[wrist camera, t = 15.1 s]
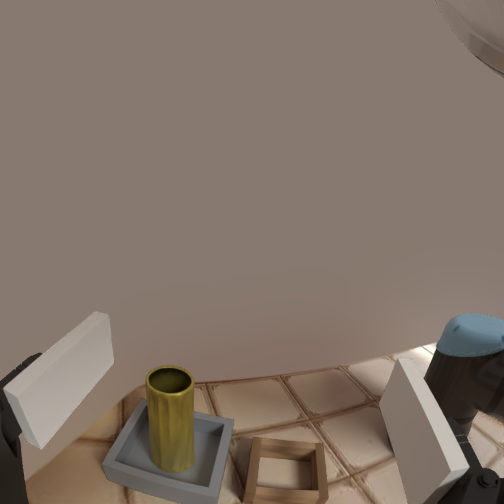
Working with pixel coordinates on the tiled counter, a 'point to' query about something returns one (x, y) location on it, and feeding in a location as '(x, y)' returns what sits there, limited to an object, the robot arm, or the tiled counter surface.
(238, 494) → the tiled counter surface
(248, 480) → the socket
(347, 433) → the tiled counter surface
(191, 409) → the vase
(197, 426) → the tray
